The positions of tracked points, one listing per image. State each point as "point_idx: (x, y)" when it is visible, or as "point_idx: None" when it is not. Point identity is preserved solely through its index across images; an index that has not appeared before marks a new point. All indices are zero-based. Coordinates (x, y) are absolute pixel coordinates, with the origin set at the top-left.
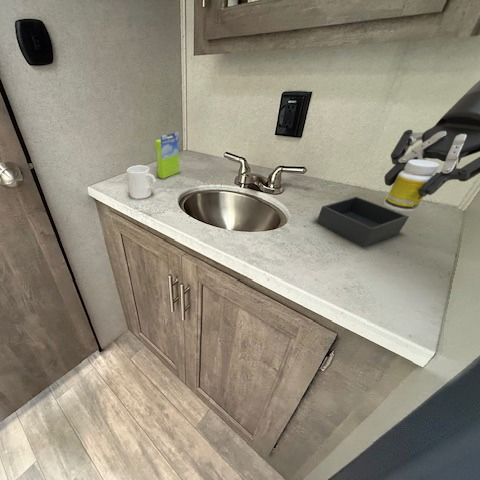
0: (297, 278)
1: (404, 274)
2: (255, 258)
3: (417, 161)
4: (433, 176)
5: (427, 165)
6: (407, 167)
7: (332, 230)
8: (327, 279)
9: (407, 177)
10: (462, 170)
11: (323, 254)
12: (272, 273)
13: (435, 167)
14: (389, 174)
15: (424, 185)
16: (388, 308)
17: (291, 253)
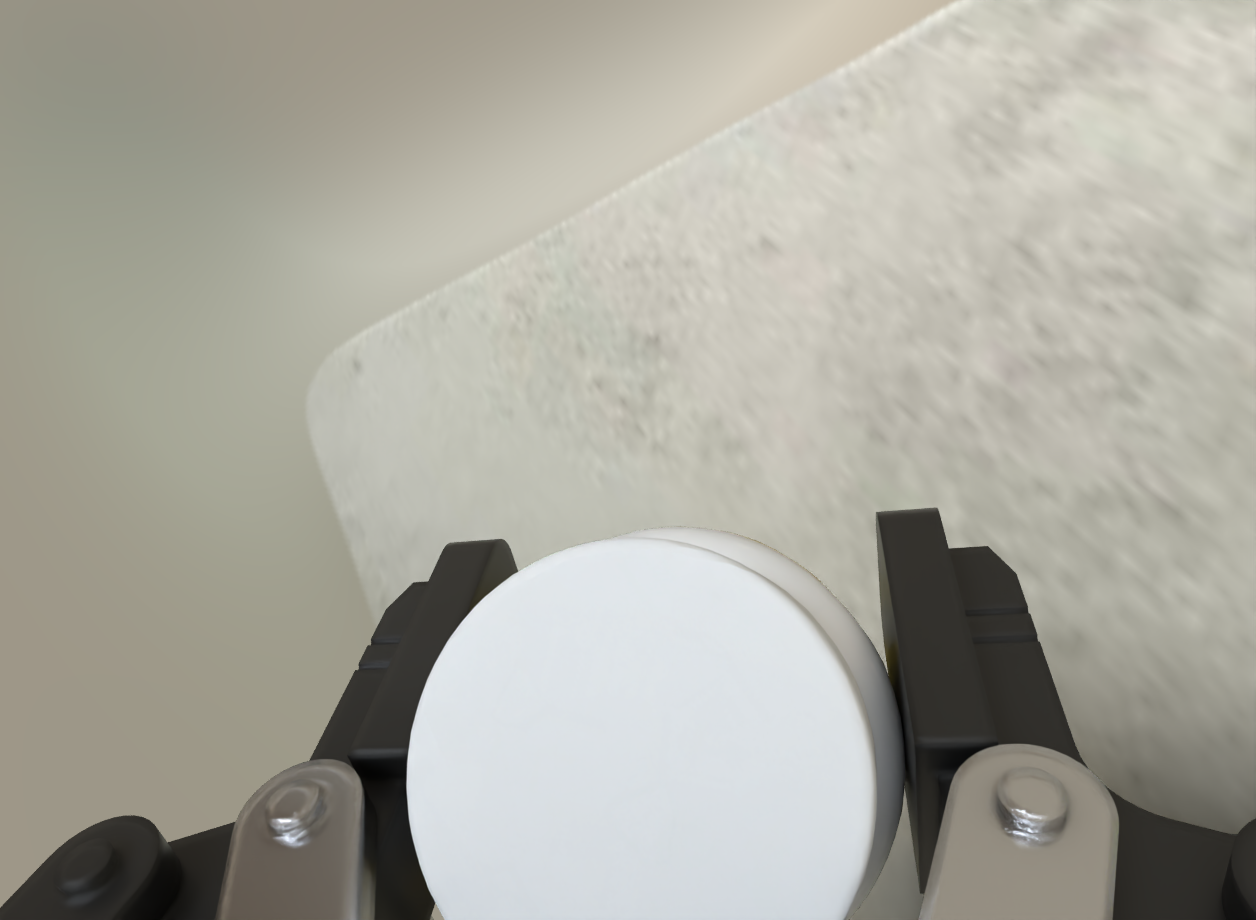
0: (814, 157)
1: None
2: (1079, 23)
3: (731, 770)
4: (423, 685)
5: (504, 665)
6: (753, 570)
7: (1236, 835)
8: (744, 308)
9: (671, 532)
10: (114, 849)
11: (956, 475)
12: (904, 50)
13: (419, 738)
14: (947, 552)
15: (469, 574)
16: (479, 424)
17: (1046, 276)
